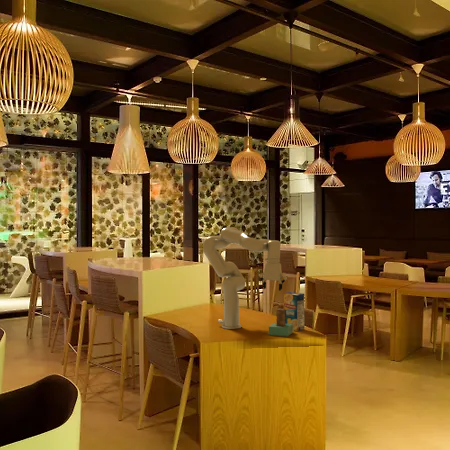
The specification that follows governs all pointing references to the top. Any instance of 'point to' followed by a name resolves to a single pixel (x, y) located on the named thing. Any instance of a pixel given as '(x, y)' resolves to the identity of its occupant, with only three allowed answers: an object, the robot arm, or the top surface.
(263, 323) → the top surface
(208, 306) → the top surface
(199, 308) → the top surface
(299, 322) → the beverage box
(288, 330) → the green square frame
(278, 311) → the long wooden beam
